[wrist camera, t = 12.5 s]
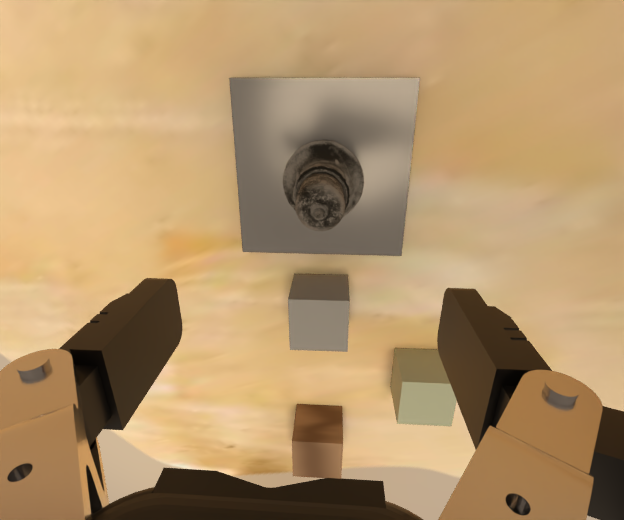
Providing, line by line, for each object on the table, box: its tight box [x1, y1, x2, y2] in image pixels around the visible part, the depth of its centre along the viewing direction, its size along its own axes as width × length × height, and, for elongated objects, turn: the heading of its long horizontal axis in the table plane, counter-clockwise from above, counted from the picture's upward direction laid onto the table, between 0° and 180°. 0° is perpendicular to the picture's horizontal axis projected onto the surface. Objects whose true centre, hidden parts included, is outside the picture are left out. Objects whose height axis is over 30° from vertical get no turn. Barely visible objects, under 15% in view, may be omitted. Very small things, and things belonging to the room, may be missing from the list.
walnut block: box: [292, 404, 343, 479], centre depth 40 cm, size 5×5×5 cm
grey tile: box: [230, 78, 420, 256], centre depth 31 cm, size 14×14×1 cm
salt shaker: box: [283, 140, 364, 231], centre depth 25 cm, size 6×6×12 cm
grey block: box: [288, 274, 349, 352], centre depth 34 cm, size 5×5×5 cm
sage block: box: [390, 348, 457, 426], centre depth 37 cm, size 5×5×5 cm
